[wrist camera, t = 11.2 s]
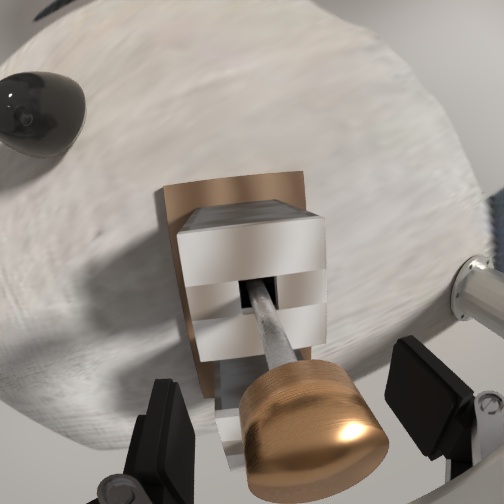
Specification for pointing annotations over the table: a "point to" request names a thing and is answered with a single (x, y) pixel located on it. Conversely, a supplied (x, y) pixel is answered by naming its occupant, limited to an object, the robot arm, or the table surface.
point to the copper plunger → (302, 418)
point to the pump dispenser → (40, 113)
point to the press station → (243, 268)
